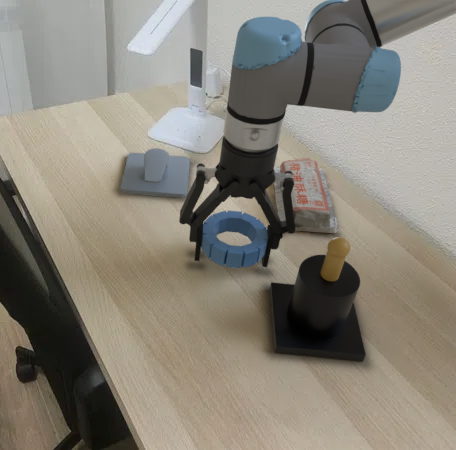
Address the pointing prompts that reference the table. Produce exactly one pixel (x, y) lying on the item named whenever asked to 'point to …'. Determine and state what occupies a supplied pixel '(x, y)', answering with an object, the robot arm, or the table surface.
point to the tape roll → (231, 253)
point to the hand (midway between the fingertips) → (230, 258)
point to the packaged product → (307, 197)
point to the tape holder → (319, 308)
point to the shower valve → (156, 174)
